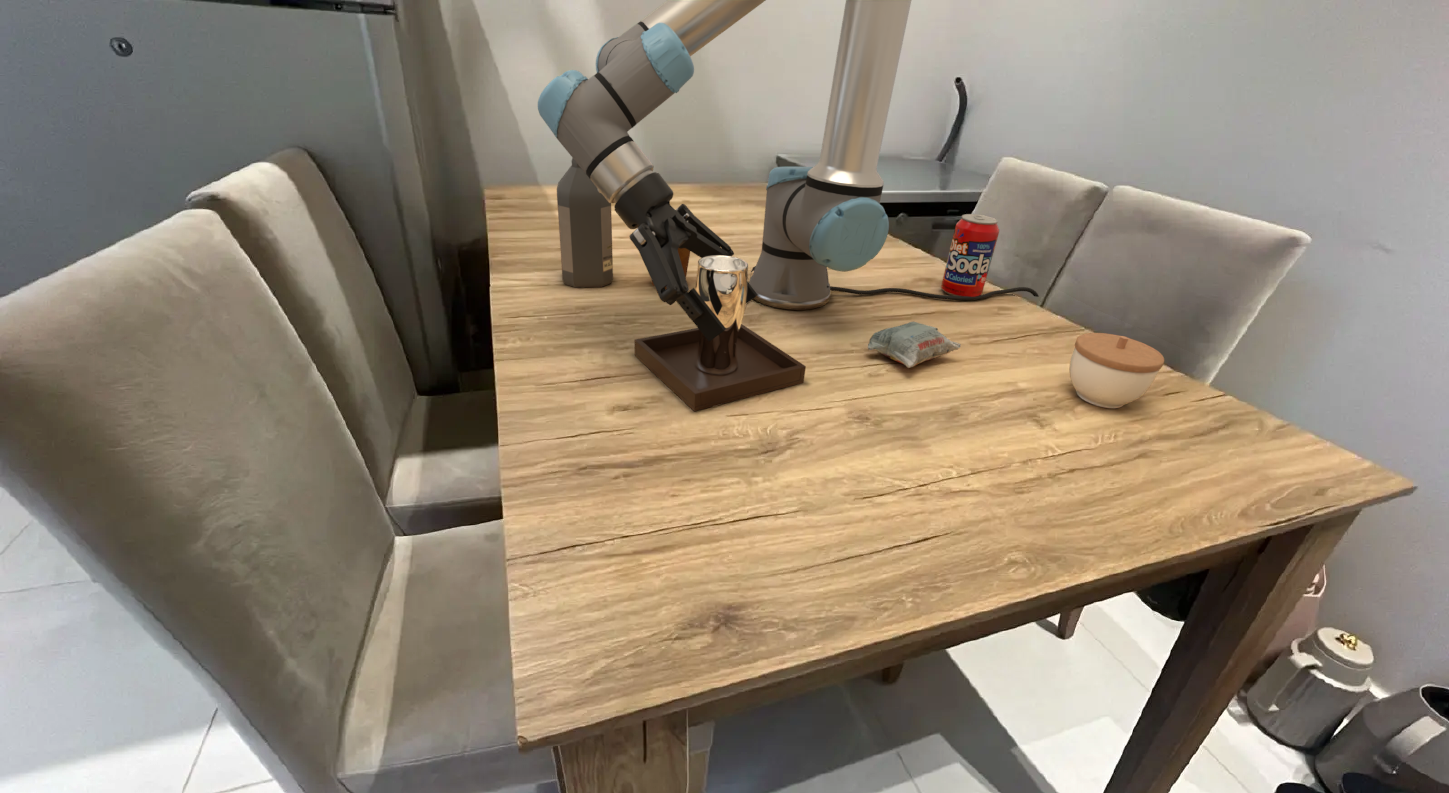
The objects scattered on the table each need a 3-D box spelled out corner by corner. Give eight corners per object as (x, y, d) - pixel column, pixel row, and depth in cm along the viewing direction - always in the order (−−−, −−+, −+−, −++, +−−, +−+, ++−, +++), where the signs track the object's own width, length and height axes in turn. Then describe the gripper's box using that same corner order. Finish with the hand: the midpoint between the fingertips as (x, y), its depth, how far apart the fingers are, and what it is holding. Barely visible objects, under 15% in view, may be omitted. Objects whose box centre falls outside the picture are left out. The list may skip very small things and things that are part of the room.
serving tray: (735, 335, 100) (736, 320, 99) (803, 382, 88) (806, 366, 86) (634, 355, 92) (634, 339, 90) (694, 411, 79) (695, 393, 78)
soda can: (977, 289, 127) (997, 215, 120) (984, 303, 121) (1006, 225, 113) (937, 285, 128) (955, 211, 121) (942, 298, 122) (961, 220, 114)
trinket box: (1155, 422, 84) (1184, 359, 79) (1071, 410, 85) (1095, 348, 81) (1125, 385, 93) (1150, 327, 89) (1050, 375, 95) (1070, 317, 90)
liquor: (563, 288, 114) (551, 107, 99) (562, 272, 121) (550, 101, 106) (614, 287, 116) (609, 109, 101) (610, 271, 123) (605, 103, 109)
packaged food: (956, 361, 97) (964, 331, 95) (906, 379, 91) (913, 347, 88) (911, 340, 103) (917, 312, 101) (862, 356, 97) (867, 326, 94)
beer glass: (683, 369, 88) (687, 265, 80) (703, 350, 93) (709, 251, 86) (730, 380, 86) (738, 275, 78) (747, 360, 91) (756, 260, 84)
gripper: (656, 190, 94) (743, 302, 97) (565, 227, 73) (680, 368, 77) (690, 156, 90) (780, 274, 93) (603, 186, 69) (723, 336, 73)
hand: (735, 317), depth 85 cm, fingers open, 13 cm apart
